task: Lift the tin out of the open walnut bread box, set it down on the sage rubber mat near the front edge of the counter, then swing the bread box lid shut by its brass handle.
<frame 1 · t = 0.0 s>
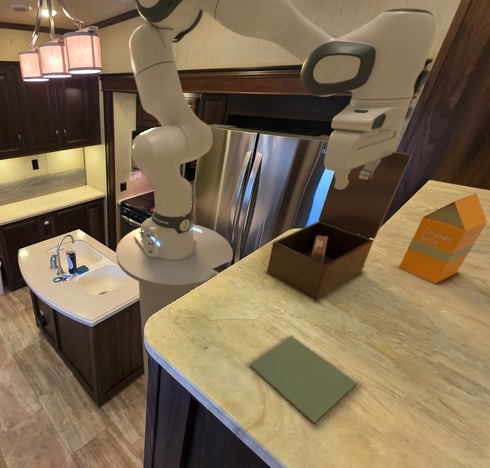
hand: (352, 183, 62), 25 cm above the worktop, tool pointing down, fingers open, 8 cm apart
orange juice: (426, 270, 73), on the worktop
breadbox lid: (363, 190, 71), point 20 cm above the worktop, hinge at 95.0°
breadbox: (313, 272, 76), on the worktop
mat: (300, 375, 51), on the worktop
tin: (313, 271, 75), resting on breadbox
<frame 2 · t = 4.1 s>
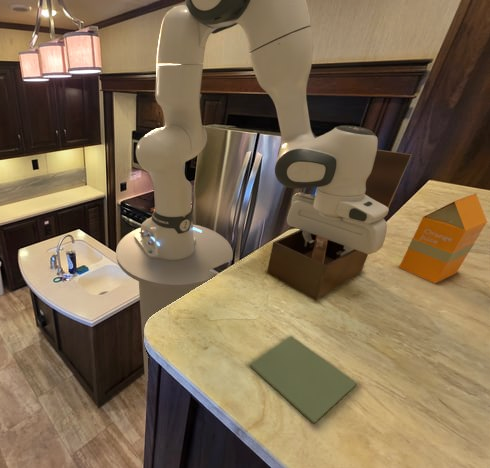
hand: (323, 252, 72), 6 cm above the worktop, tool pointing down, fingers open, 6 cm apart
nothing on the worktop moved.
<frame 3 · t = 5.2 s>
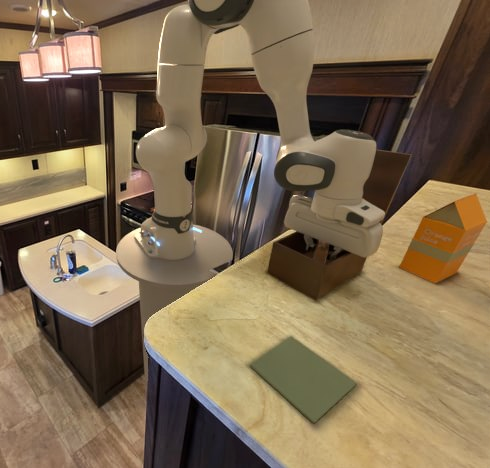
hand: (320, 254, 73), 6 cm above the worktop, tool pointing down, fingers closed on tin, 4 cm apart
tin: (313, 270, 75), point 1 cm above the worktop, touching breadbox, gripper
everything else where it was.
when the fingers open (5 cm above the worktop, at t = 13.7 s): tin stays where it is, resting on mat.
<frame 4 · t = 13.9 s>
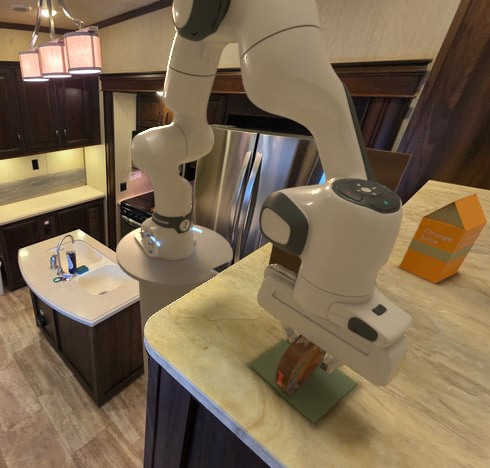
hand: (307, 354, 49), 5 cm above the worktop, tool pointing down, fingers open, 5 cm apart
tin: (298, 372, 51), resting on mat
everything else where it was.
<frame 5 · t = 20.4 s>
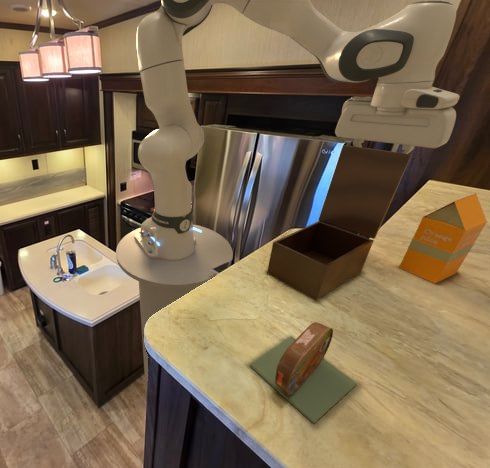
hand: (376, 161, 68), 27 cm above the worktop, tool pointing down, fingers closed on breadbox lid, 6 cm apart
breadbox lid: (363, 190, 71), point 20 cm above the worktop, hinge at 95.0°, touching gripper
everything else where it was.
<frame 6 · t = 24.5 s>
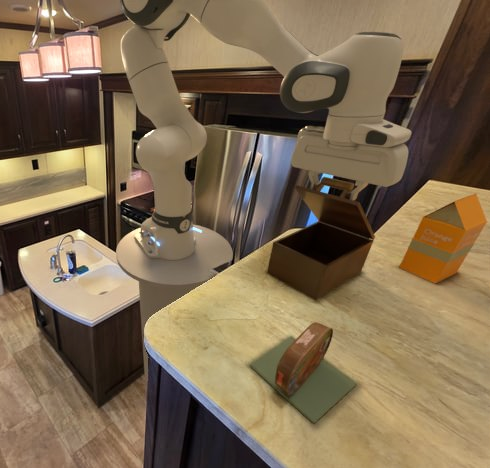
hand: (332, 194, 64), 22 cm above the worktop, tool pointing down, fingers closed on breadbox lid, 6 cm apart
breadbox lid: (340, 205, 68), point 18 cm above the worktop, hinge at 41.4°, touching gripper
everything else where it was.
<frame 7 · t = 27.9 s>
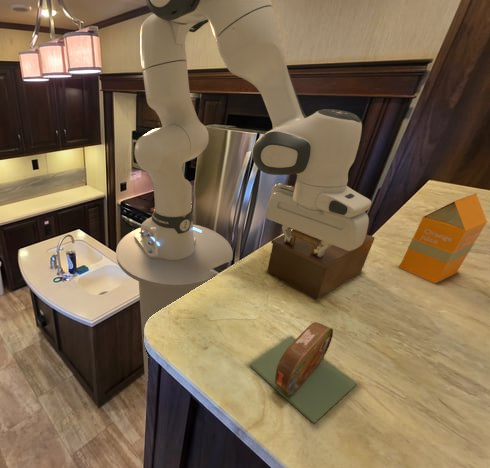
hand: (302, 248, 67), 10 cm above the worktop, tool pointing down, fingers closed on breadbox lid, 6 cm apart
breadbox lid: (324, 232, 70), point 12 cm above the worktop, hinge at -0.2°, touching breadbox, gripper
everything else where it was.
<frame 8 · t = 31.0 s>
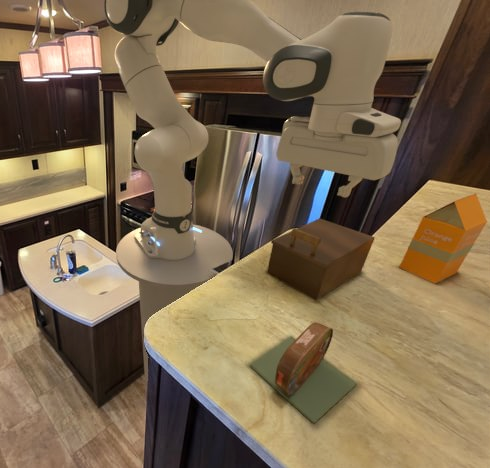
hand: (318, 189, 60), 25 cm above the worktop, tool pointing down, fingers open, 8 cm apart
breadbox lid: (324, 232, 70), point 12 cm above the worktop, hinge at -0.1°, touching breadbox
everything else where it was.
at the end: tin inside the target area on the mat (0.4 cm from its centre), point 0.3 cm above the mat's base; the gripper is holding nothing; breadbox lid at +0° (first picture: +95°) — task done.
